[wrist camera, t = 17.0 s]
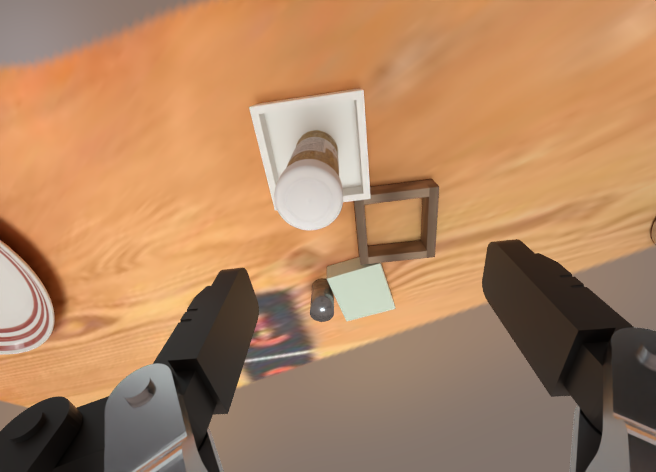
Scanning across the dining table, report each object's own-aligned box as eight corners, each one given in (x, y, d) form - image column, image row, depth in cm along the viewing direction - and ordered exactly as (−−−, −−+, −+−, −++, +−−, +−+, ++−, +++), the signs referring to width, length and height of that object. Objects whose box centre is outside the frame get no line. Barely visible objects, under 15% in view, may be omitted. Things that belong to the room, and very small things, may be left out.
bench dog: (331, 277, 39) (332, 303, 35) (334, 294, 41) (335, 320, 36) (310, 279, 40) (308, 305, 35) (313, 296, 41) (312, 322, 37)
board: (376, 250, 38) (380, 263, 35) (391, 293, 41) (395, 308, 39) (326, 265, 39) (326, 278, 36) (345, 306, 42) (346, 321, 40)
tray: (360, 88, 28) (363, 89, 25) (367, 188, 33) (370, 198, 30) (256, 103, 28) (249, 107, 26) (279, 199, 34) (275, 210, 31)
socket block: (431, 179, 32) (439, 186, 30) (428, 245, 37) (434, 256, 34) (352, 189, 33) (354, 197, 31) (358, 253, 37) (360, 264, 35)
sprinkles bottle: (339, 171, 31) (344, 231, 19) (297, 173, 31) (278, 234, 20) (337, 127, 29) (342, 164, 17) (292, 130, 29) (267, 169, 17)
